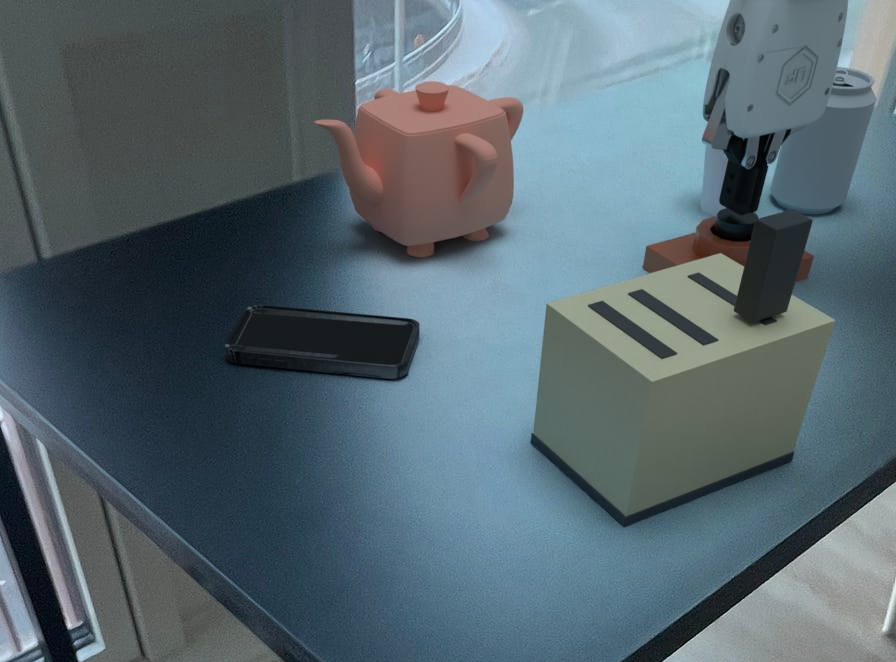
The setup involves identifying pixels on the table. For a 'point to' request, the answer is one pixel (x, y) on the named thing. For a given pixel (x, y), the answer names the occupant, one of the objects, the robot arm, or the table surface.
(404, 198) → the teapot
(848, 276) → the table surface
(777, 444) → the toaster
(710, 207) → the smoothie
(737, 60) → the robot arm
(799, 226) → the toaster slider
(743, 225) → the button
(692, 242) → the control block
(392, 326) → the phone
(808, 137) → the can
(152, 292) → the table surface
